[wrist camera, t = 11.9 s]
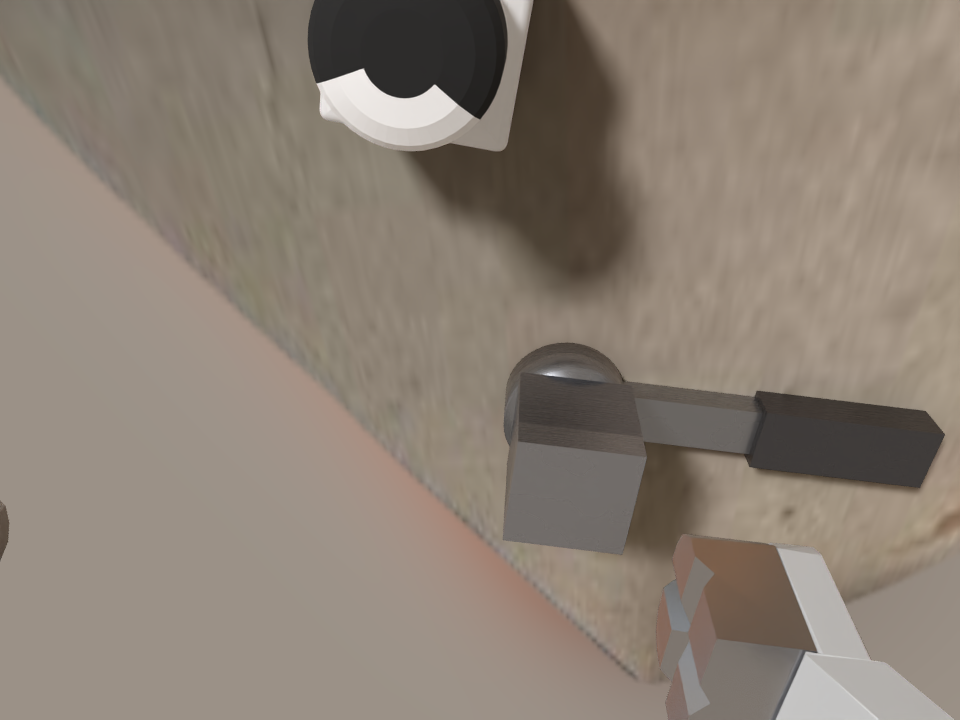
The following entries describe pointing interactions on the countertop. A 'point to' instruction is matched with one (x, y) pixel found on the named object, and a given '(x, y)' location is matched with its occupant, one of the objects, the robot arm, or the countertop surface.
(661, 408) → the ratchet
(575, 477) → the grey metal cube
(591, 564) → the countertop surface
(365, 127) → the medicine bottle
